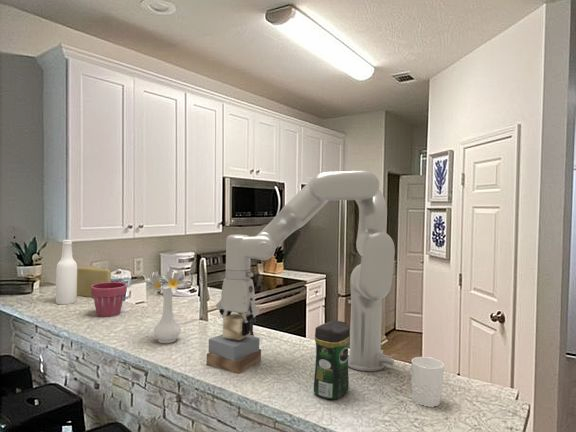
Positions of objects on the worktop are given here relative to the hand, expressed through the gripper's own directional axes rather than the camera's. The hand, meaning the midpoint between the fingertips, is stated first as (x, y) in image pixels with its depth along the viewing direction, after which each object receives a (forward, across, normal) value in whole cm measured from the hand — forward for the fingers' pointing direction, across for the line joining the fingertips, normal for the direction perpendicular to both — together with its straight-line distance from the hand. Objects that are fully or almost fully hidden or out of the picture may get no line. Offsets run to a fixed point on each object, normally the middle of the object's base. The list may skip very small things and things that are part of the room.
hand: (236, 332), depth 127 cm
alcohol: (+9, +111, -20) cm, 113 cm away
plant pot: (+10, +78, -17) cm, 80 cm away
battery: (+10, +9, -20) cm, 24 cm away
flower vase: (+10, +33, -4) cm, 35 cm away
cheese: (+10, +110, -36) cm, 116 cm away
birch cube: (+1, 0, 0) cm, 1 cm away
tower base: (+10, 0, 0) cm, 10 cm away
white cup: (+10, -56, -4) cm, 57 cm away
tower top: (+6, +1, 0) cm, 6 cm away
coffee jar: (+10, -33, +4) cm, 35 cm away
